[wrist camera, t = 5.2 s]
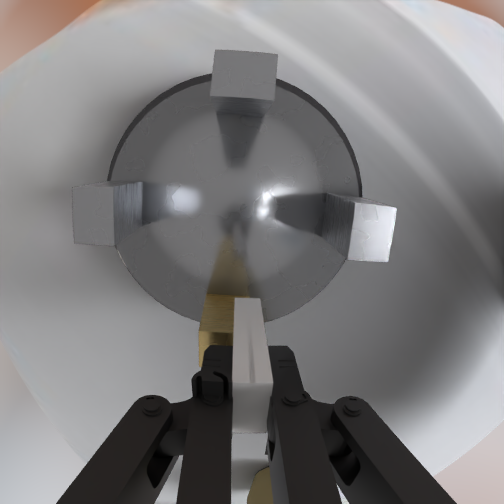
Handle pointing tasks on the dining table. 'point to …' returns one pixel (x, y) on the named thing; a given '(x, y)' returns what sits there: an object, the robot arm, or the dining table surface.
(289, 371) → the robot arm
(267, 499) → the squeeze bottle
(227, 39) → the dining table surface
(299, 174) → the four-lug metal disc
